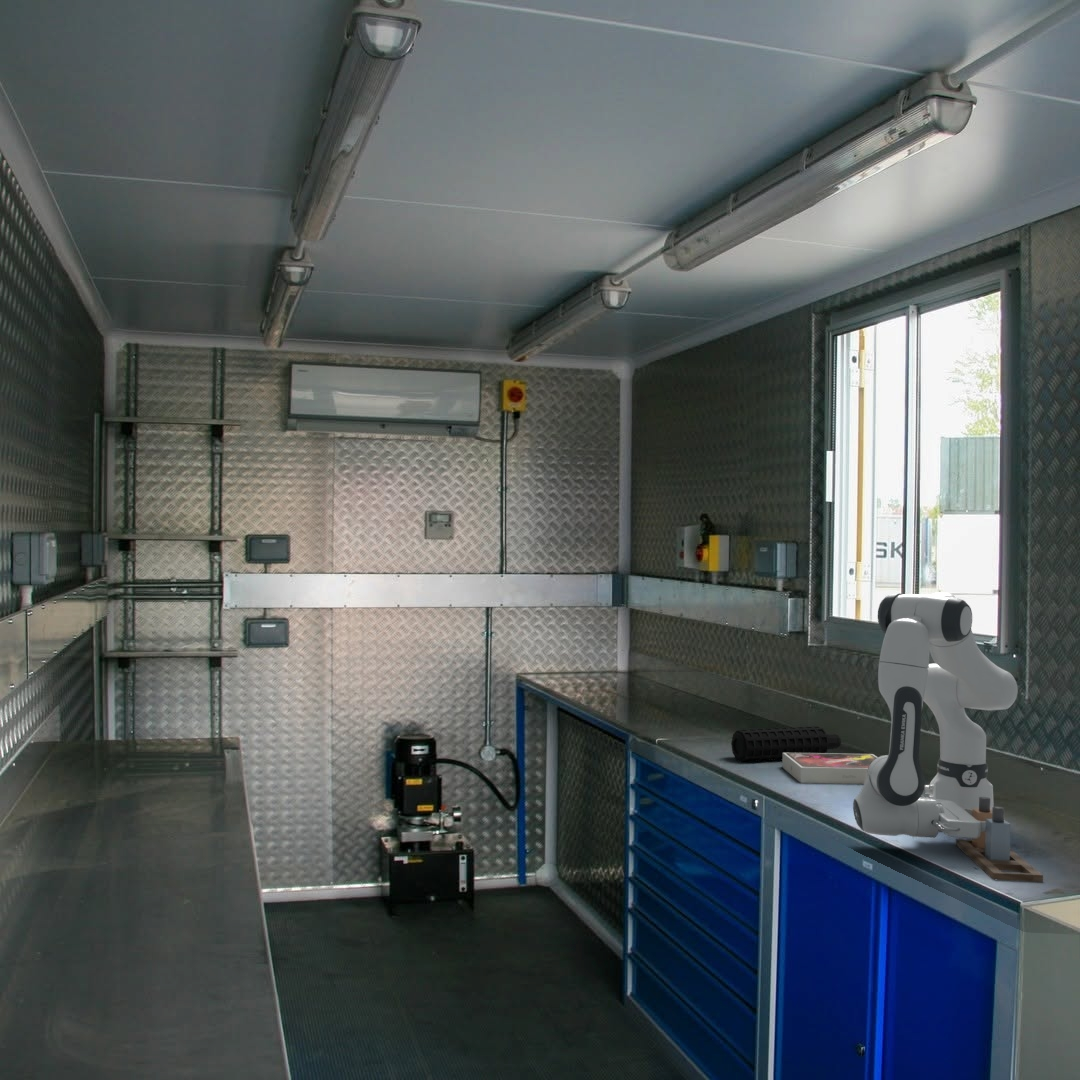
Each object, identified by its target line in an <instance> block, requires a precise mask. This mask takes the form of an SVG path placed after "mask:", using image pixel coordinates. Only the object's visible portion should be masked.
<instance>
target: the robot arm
mask: <svg viewBox="0 0 1080 1080" xmlns="http://www.w3.org/2000/svg"><path fill="white" fill-rule="evenodd" d="M877 622H878V625H879V627H880V629H881V630H882V632H883V633H884V634H885V635H884V636H883V641H882V645H881V647H880V648H881V650H880V654H879V662H878V670H877V679H878V680H877V681H878V691H879V692H880V695H881V696H882V698H883V699H884V700H885V703H886V705H887V707H888V709H889V712H890V718H891V720H890V721H891V725H890V736H889V737H890V738H889V748H888V749H889V750H888V754H884V755H879V756H877V758H876V759H874V760H873V761H872V762H871V763H870V765H869V767H868V771H867V776H866V779H865V782H864V784H862V788H861V790H860V792H859V793H858V794H857V796H856V797H855V798H854V799H853V804H852V809H853V815H854V819H855V821H856V822H855V823H856V824H857V826H858V828H859V829H861V831H862V832H865V833H867V834H871V835H876V836H877V835H878V836H887V837H897V836H901V835H903V836H904V835H905V836H908V837H912V838H933V839H934V838H936V837H937V836H938V833H943V834H944V835H946V836H949V837H954V838H966V839H972V838H979V837H980V834H981V832H982V831H985V826H986V821H978V820H976V819H975V818H974V817H973V816H972V814H973V809H979V797H988V798H990V809H991V810H992V807H994V786H993V784H992V783H991V782H990V781H989V780H988V779H987V777H988V771H989V767H988V763H987V761H986V760H987V734H986V732H985V730H984V729H983V728H982V727H981V726H980V725H979V724H978V723H976V722H974V721H972V719H970V718H969V716H968V715H967V713H966V709H973V710H982V711H1000V710H1008V709H1009V708H1010V707H1011V706H1012V705H1013V704H1014V703H1015V701H1016V700H1017V697H1018V691H1019V690H1018V689H1019V688H1018V683H1017V681H1016V679H1015V676H1014V675H1012V673H1011V672H1010V671H1007V670H1005V669H1004V668H1001V667H999V666H998V665H996V664H995V663H994V662H993V661H991V660H990V659H989V658H988V657H987V656H986V655H985V654H984V653H983V652H982V651H981V650H980V647H979V646H978V645H977V644H978V643H977V642H976V639H975V636H974V634H973V630H972V626H973V612H972V608H971V606H970V605H969V604H968V603H967V602H966V601H965V600H964V599H961V598H958V597H956V596H955V595H954V594H952V593H949V592H946V591H945V592H942V591H940V592H939V591H937V592H934V593H932V594H929V593H924V594H918V593H915V594H914V593H907V594H903V593H891V594H887V595H885V597H884V598H883V599H882V600H881V601H880V603H879V605H878V609H877ZM930 655H931V656H930ZM930 657H931V658H932V660H933V663H930ZM924 703H925V704H926V705H927V707H928V708H929V709H930V710H931V712H932V713H933V716H934V717H935V720H936V723H937V725H938V729H939V731H938V732H939V743H940V744H939V751H940V752H939V755H940V757H939V758H938V761H937V765H936V766H937V767H936V768H937V769H936V771H937V773H936V775H935V776H933V778H932V780H931V781H930V783H929V784H926V781H925V776H924V772H923V769H922V766H921V763H920V761H921V760H920V744H921V730H922V713H923V704H924ZM965 708H966V709H965ZM923 793H925V795H928V797H927V796H925V795H923Z"/></svg>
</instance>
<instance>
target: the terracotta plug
mask: <svg viewBox="0 0 1080 1080" xmlns="http://www.w3.org/2000/svg"><path fill="white" fill-rule="evenodd" d="M972 816H973V817H974V818H975V819H976V820H978V821H986V819H992V810H991V809H990V798H988V797H979V809H973V814H972ZM971 840H972V846H973V847H974V848H985V831H982V832H981V834H980V837H979V838H971Z"/></svg>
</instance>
